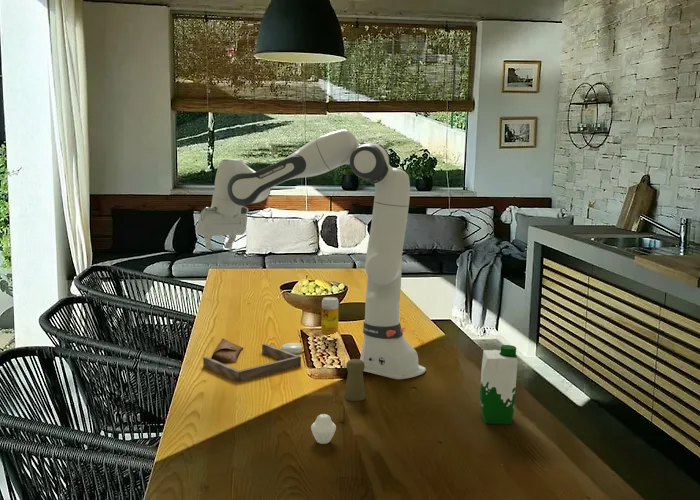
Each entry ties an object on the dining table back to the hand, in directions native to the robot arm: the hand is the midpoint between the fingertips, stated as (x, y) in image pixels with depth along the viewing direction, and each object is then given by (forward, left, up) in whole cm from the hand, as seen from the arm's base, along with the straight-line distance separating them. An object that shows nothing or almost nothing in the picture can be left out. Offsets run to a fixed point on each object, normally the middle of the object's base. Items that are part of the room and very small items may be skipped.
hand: (218, 248), depth 249 cm
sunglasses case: (-5, 0, -36) cm, 36 cm away
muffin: (-78, +22, -36) cm, 88 cm away
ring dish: (-15, -20, -35) cm, 43 cm away
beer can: (-12, -40, -36) cm, 55 cm away
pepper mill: (-61, -5, -36) cm, 71 cm away
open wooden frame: (-20, +1, -35) cm, 41 cm away
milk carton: (-97, -23, -36) cm, 106 cm away
